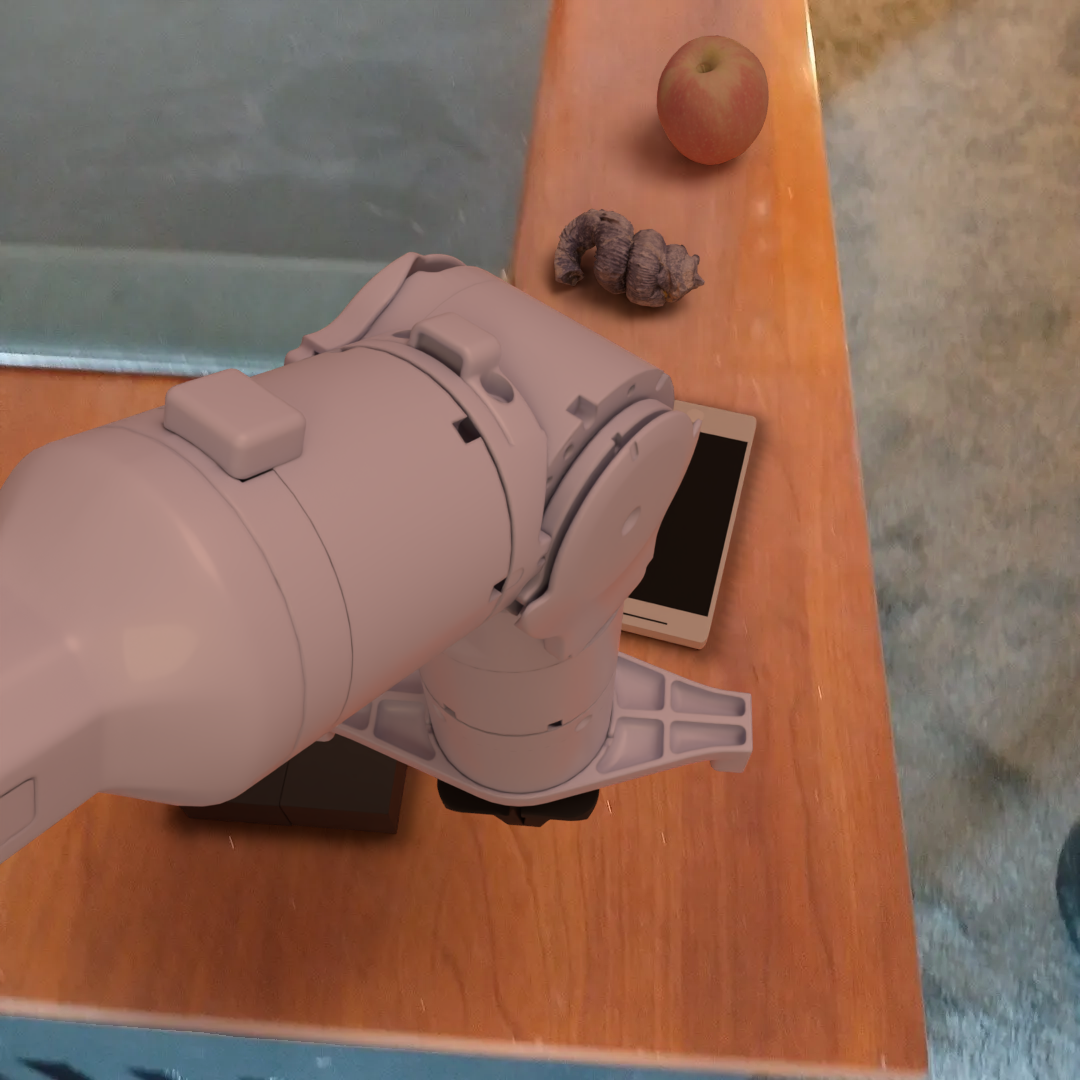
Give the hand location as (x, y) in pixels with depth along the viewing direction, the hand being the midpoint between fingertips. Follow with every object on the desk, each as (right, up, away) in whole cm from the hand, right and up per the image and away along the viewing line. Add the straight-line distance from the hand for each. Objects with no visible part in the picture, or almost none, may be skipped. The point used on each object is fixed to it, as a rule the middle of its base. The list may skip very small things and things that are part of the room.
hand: (527, 800), depth 41 cm
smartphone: (+8, +11, +18) cm, 23 cm away
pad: (-8, 0, +11) cm, 14 cm away
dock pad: (-13, 0, +11) cm, 18 cm away
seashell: (+6, +27, +28) cm, 39 cm away
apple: (+12, +38, +35) cm, 53 cm away
